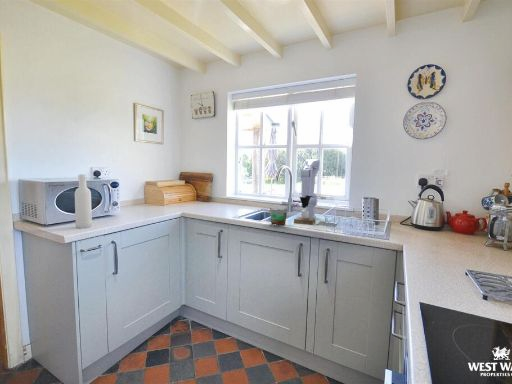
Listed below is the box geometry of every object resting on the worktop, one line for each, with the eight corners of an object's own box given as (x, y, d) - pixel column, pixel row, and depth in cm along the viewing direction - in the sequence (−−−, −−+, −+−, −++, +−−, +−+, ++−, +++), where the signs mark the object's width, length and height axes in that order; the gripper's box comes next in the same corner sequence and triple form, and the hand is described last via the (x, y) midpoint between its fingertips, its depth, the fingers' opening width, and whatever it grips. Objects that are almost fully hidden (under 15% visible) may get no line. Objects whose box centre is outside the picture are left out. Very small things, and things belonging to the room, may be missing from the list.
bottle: (74, 226, 149) (72, 174, 146) (89, 224, 154) (88, 174, 152) (77, 229, 143) (75, 174, 141) (94, 227, 149) (92, 174, 147)
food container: (265, 224, 167) (266, 208, 166) (269, 222, 172) (270, 207, 171) (283, 226, 161) (284, 210, 160) (287, 224, 166) (287, 209, 166)
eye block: (297, 220, 184) (297, 216, 183) (314, 221, 179) (315, 217, 179) (293, 222, 172) (294, 219, 172) (312, 224, 168) (312, 220, 168)
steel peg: (302, 221, 178) (302, 210, 177) (308, 222, 177) (308, 210, 176) (301, 222, 175) (301, 210, 175) (307, 222, 174) (307, 211, 173)
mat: (319, 221, 181) (319, 220, 181) (337, 222, 177) (337, 222, 177) (317, 224, 168) (317, 224, 168) (336, 226, 164) (336, 226, 164)
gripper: (302, 186, 182) (301, 205, 183) (297, 187, 169) (297, 208, 170) (312, 186, 180) (311, 206, 181) (308, 187, 166) (307, 208, 167)
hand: (305, 207), depth 175 cm, fingers open, 7 cm apart
